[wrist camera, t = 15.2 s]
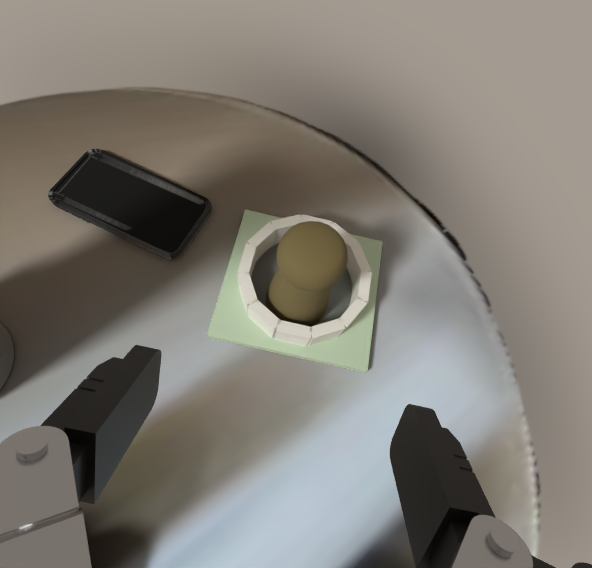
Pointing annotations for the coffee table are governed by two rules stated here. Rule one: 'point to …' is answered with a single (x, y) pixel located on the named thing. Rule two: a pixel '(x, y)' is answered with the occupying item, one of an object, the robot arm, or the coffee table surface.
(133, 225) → the phone
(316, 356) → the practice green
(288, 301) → the cork
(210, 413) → the coffee table surface
